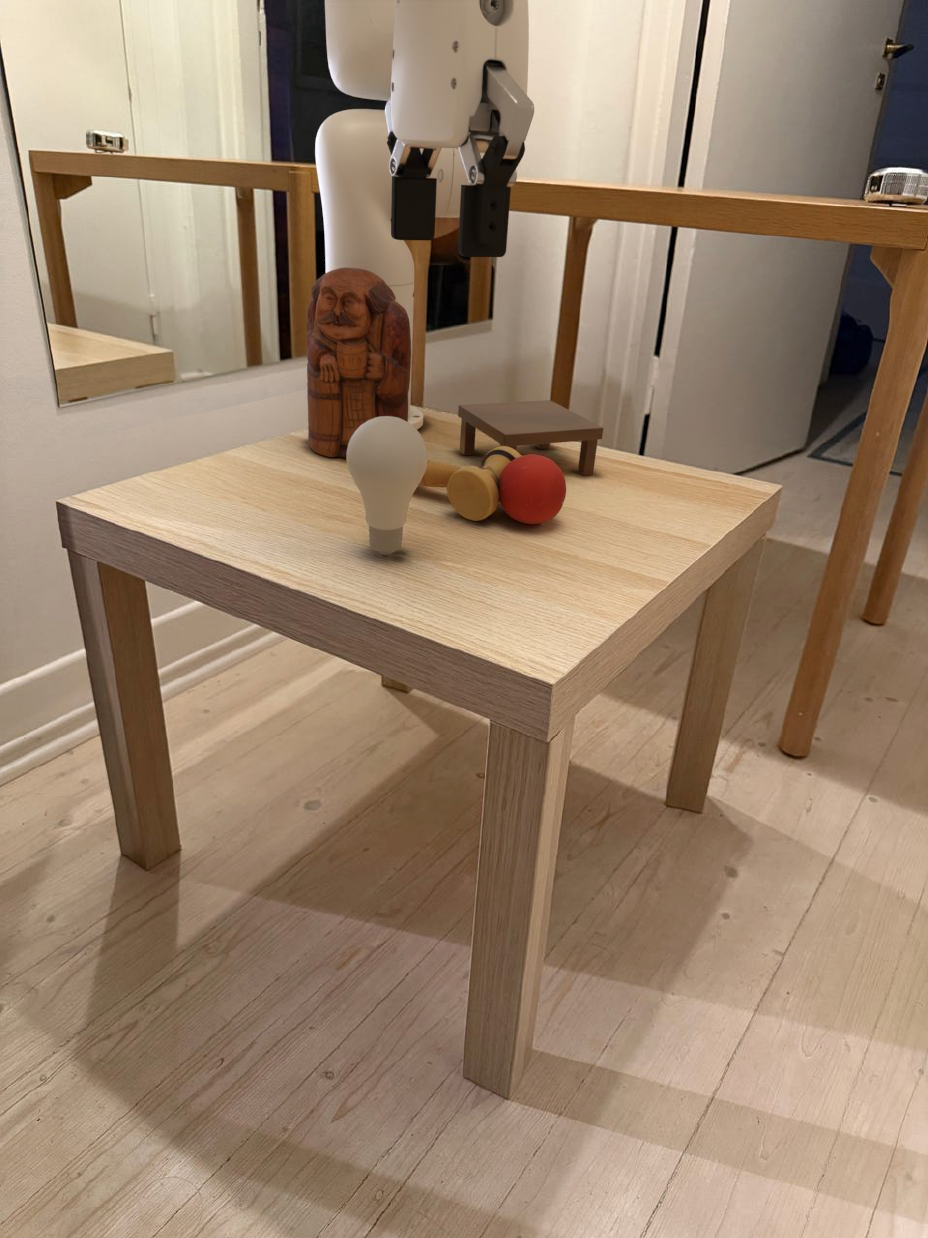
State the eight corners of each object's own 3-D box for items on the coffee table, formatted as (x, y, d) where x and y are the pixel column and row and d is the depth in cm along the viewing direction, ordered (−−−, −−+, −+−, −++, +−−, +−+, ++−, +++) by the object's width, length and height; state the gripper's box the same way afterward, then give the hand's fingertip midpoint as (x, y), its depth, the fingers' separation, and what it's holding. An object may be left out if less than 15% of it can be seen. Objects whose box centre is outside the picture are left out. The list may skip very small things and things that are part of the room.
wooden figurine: (289, 452, 94) (283, 266, 85) (314, 436, 99) (311, 260, 91) (398, 468, 91) (403, 278, 83) (417, 450, 97) (424, 271, 88)
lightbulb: (400, 534, 76) (403, 403, 71) (438, 561, 71) (444, 424, 66) (333, 546, 73) (332, 410, 68) (368, 575, 68) (370, 432, 63)
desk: (455, 451, 97) (458, 404, 95) (545, 444, 102) (550, 399, 99) (501, 484, 88) (505, 434, 86) (597, 475, 93) (603, 427, 90)
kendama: (364, 510, 84) (539, 532, 75) (365, 440, 82) (543, 454, 73) (412, 502, 90) (578, 522, 81) (414, 438, 89) (583, 450, 80)
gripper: (600, -83, 48) (565, 264, 56) (446, -41, 61) (435, 235, 69) (477, -109, 44) (458, 264, 52) (342, -59, 58) (343, 233, 65)
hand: (445, 247), depth 61 cm, fingers open, 9 cm apart
